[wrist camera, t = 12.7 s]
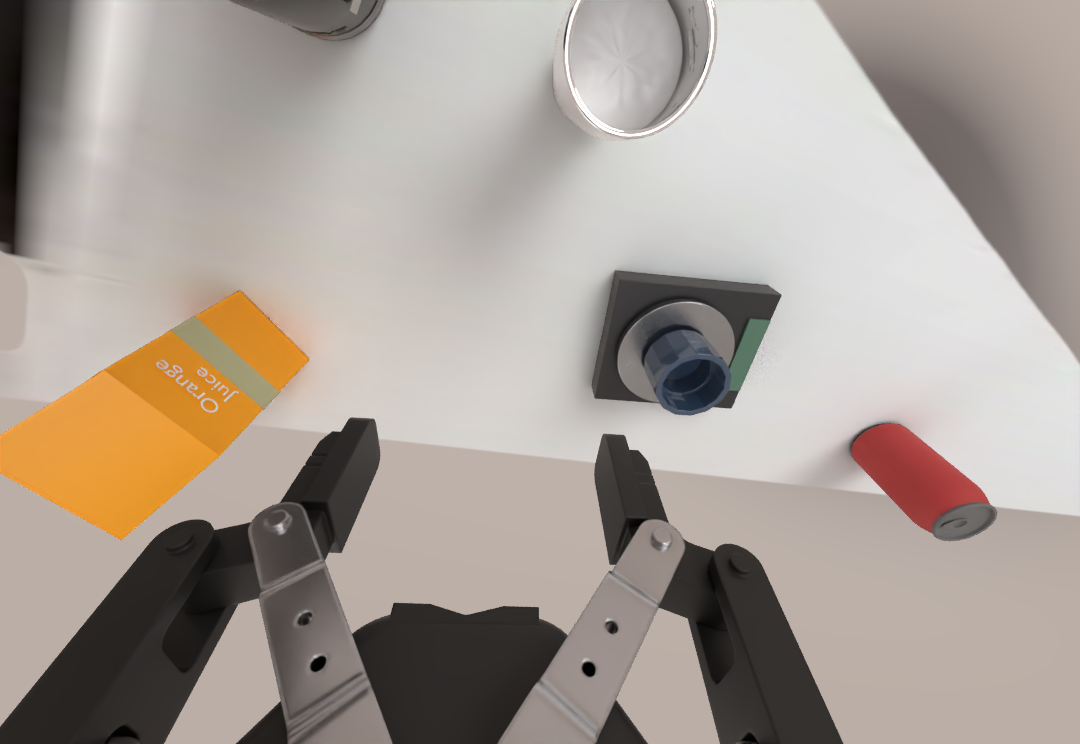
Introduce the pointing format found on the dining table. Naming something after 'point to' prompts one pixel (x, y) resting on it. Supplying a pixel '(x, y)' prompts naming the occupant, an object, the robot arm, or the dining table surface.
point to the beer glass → (632, 63)
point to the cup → (686, 373)
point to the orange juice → (153, 417)
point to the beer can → (923, 483)
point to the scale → (642, 291)
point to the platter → (663, 322)
